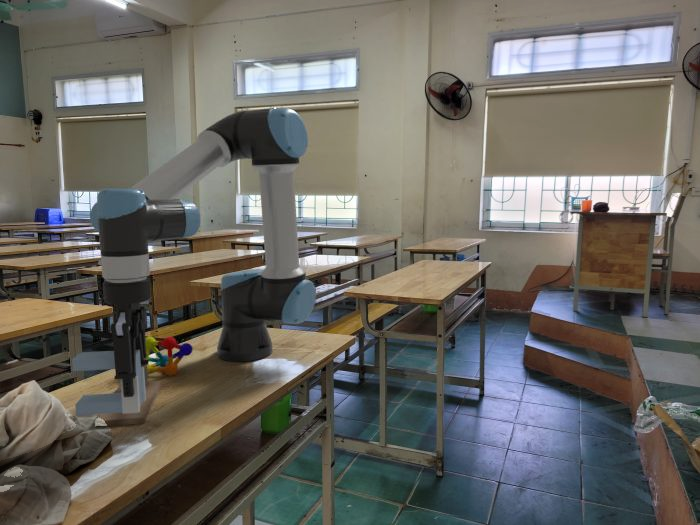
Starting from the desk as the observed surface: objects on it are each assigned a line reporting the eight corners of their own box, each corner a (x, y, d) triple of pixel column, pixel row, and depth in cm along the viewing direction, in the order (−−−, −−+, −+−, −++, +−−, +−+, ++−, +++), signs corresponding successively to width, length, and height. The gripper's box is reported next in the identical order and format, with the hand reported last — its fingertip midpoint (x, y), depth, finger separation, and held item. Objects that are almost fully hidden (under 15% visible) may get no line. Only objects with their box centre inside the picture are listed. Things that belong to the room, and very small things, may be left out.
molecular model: (163, 376, 131) (201, 346, 127) (145, 398, 122) (186, 368, 118) (132, 346, 129) (170, 315, 124) (112, 367, 119) (152, 334, 115)
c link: (142, 401, 91) (139, 349, 89) (137, 411, 87) (134, 356, 85) (84, 405, 89) (80, 352, 87) (76, 415, 85) (71, 359, 83)
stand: (162, 385, 115) (158, 331, 113) (143, 423, 96) (139, 359, 94) (121, 388, 113) (117, 333, 111) (94, 427, 95) (89, 362, 93)
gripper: (117, 271, 93) (125, 389, 96) (86, 288, 76) (97, 430, 79) (159, 270, 94) (165, 386, 97) (137, 287, 77) (146, 426, 81)
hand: (134, 406), depth 88 cm, fingers closed on c link, 4 cm apart
